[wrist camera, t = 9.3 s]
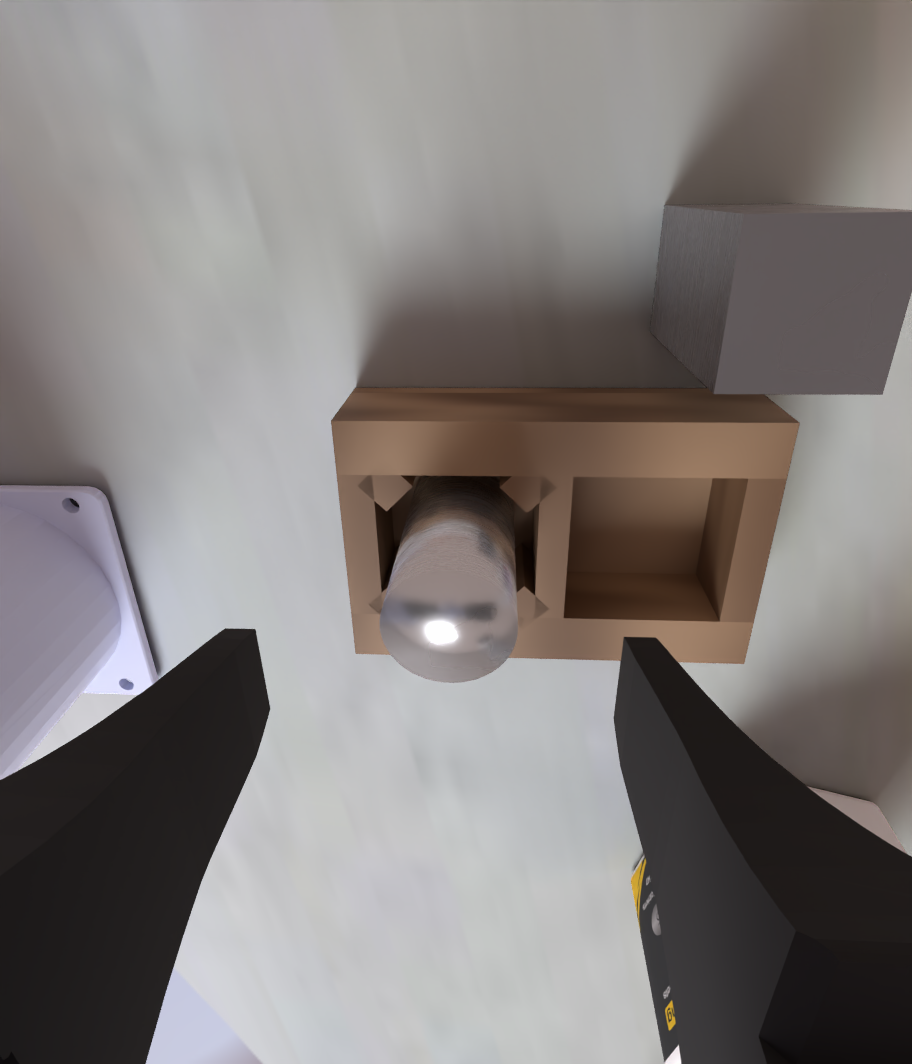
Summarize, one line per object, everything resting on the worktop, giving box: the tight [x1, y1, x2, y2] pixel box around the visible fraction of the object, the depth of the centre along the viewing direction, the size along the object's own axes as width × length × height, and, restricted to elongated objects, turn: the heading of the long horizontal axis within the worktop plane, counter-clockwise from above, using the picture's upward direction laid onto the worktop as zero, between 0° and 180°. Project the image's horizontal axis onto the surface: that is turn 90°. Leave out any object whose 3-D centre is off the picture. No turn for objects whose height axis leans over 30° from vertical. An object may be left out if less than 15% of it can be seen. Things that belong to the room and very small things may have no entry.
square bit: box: [650, 203, 912, 395], centre depth 14 cm, size 3×3×6 cm
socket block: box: [331, 388, 800, 664], centre depth 19 cm, size 11×7×3 cm, turn 91°
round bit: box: [380, 476, 518, 683], centre depth 17 cm, size 3×3×6 cm
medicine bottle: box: [631, 786, 907, 1064], centre depth 21 cm, size 7×7×12 cm
